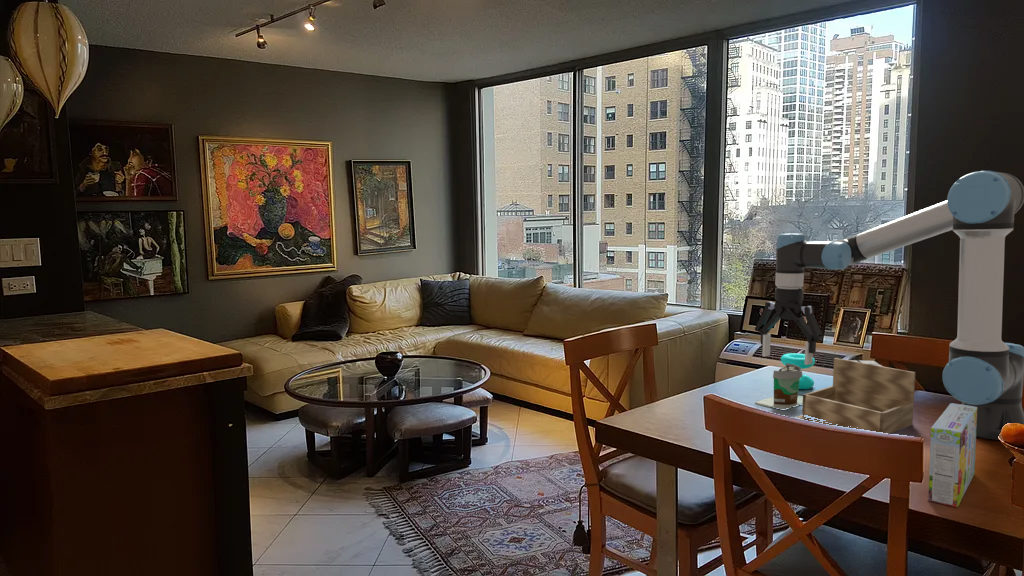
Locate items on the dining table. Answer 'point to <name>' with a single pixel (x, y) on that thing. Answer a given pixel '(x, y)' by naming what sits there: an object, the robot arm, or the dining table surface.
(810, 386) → the donuts
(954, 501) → the snack box
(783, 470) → the dining table surface
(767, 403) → the mat
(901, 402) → the wooden box
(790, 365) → the food container
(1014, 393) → the robot arm
